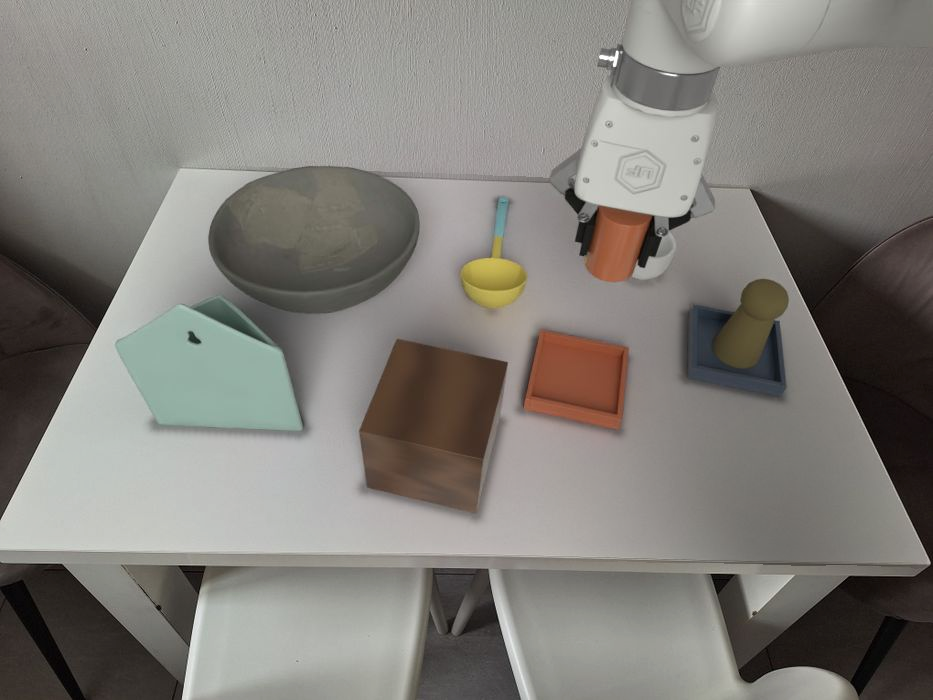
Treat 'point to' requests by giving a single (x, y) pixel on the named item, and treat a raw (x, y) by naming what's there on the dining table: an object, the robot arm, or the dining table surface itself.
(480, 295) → the ladle
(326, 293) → the bowl
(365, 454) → the block
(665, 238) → the teacup
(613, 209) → the terracotta jar
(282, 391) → the planter
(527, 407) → the terracotta tray
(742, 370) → the slate tray
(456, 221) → the dining table surface
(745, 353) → the pepper shaker
